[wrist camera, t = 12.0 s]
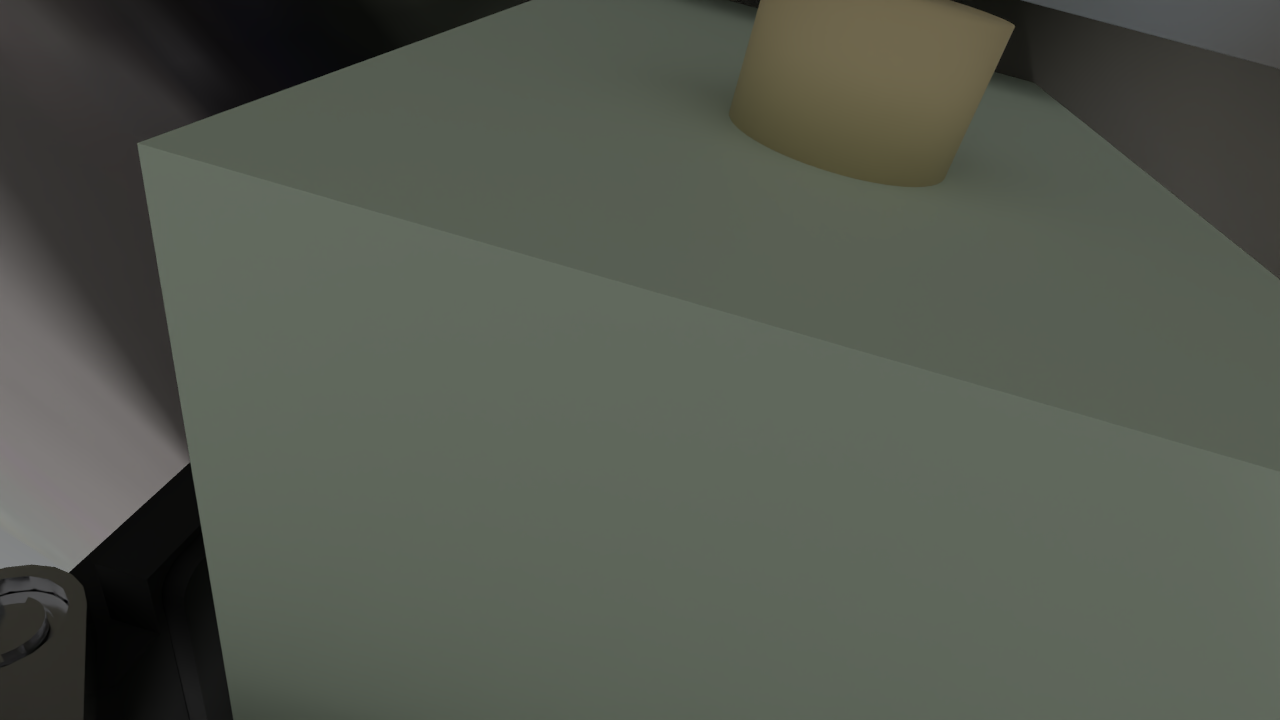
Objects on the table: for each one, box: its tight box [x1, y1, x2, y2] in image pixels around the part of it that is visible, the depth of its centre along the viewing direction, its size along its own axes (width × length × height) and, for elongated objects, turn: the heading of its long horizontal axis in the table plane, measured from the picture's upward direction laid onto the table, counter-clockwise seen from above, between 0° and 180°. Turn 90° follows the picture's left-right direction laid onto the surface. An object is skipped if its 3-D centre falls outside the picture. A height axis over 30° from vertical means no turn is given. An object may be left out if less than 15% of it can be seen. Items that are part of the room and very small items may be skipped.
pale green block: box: [137, 0, 1280, 720], centre depth 10 cm, size 6×13×9 cm, turn 168°
